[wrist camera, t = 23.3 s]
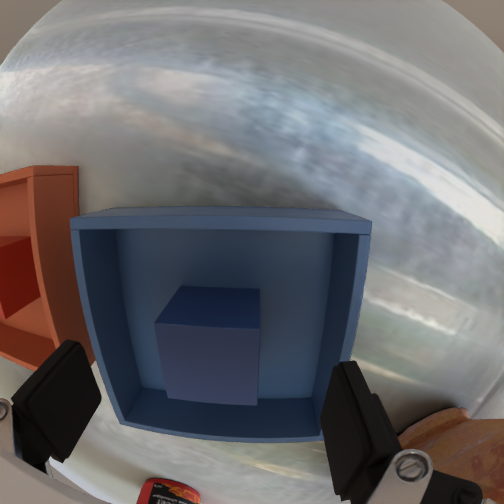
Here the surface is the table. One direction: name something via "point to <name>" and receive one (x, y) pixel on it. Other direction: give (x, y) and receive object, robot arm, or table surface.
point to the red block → (16, 275)
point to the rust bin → (43, 263)
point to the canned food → (167, 493)
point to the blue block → (211, 344)
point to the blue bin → (227, 276)
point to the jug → (462, 448)
